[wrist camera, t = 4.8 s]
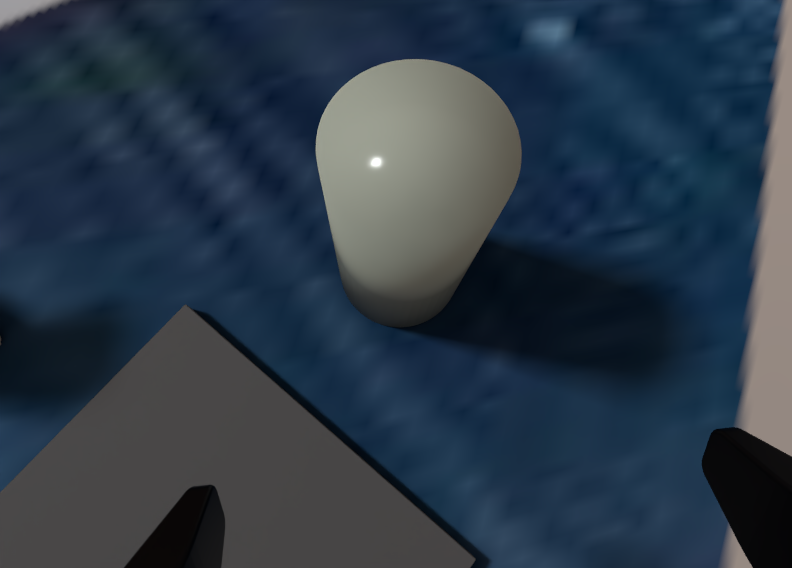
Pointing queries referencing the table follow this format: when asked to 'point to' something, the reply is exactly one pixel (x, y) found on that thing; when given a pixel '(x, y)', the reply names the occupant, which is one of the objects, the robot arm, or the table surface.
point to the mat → (209, 472)
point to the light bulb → (413, 183)
